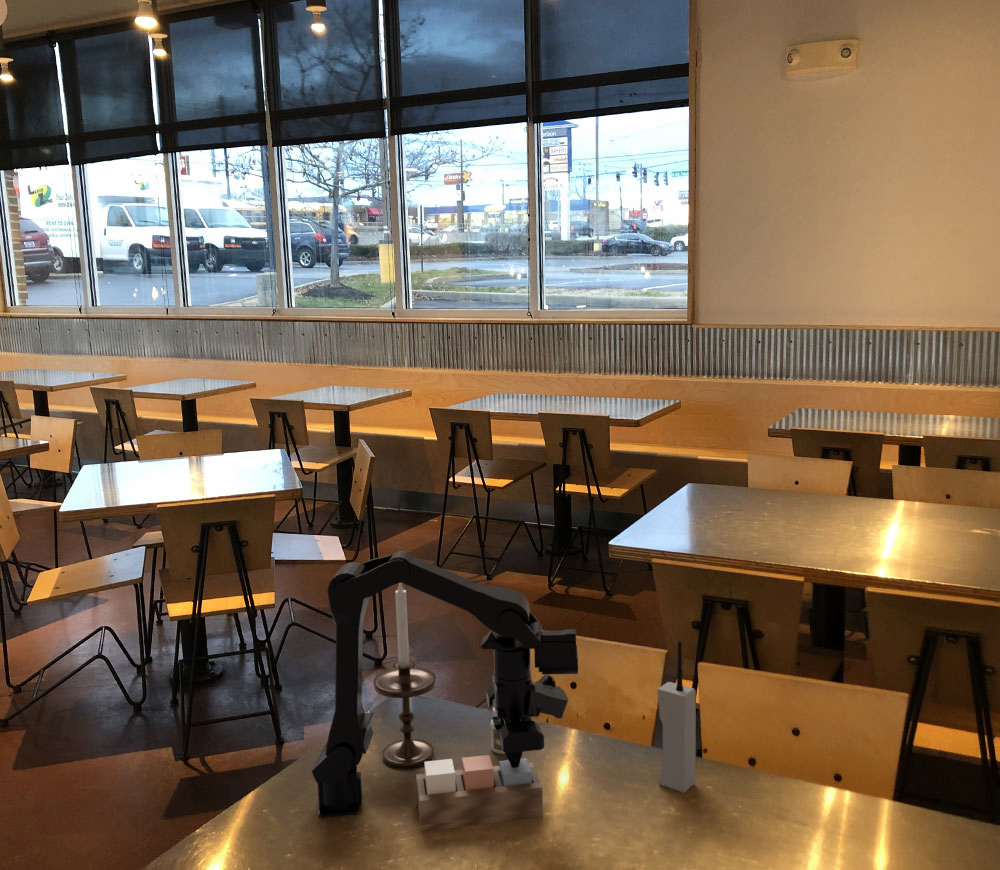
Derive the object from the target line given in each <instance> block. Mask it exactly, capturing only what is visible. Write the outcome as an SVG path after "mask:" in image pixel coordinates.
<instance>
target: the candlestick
mask: <svg viewBox="0 0 1000 870" xmlns="http://www.w3.org/2000/svg"><path fill="white" fill-rule="evenodd" d="M394 594H395V595H394V596H395V611H396V612H395V613H396V614H395V615H396V632H397V633H396V635H397V637H396V638H397V654H398V657H397V659H398V661H396V662H394V663H393V664H392V667H393V668H391V669H387V670H384V671H382V672H380V673H378V674H377V675H376V676H375V677H374V679H373V689H374V691H375V692H376V693H377V694H379V695H381V696H384V697H388V698H392V699H393V698H394V699H401V704H402V705H401V708H402V711H401V712H400V713H399V714H398V719H399V721H400V723H402V726H400V728H399V729H400V730H399V731H400V732H401V733H402V734H403V739H400V740H397V741H394V742H391V743H389V744H387V745H385V746H386V747H384V749H383V750H382V760H383V762H384V764H386V765H387V766H389V767H391V768H394V769H395V768H396V769H404V770H405V769H406V770H407V769H414V768H418V767H423V766H425V765H424V762H426V761H432V760H433V758H434V754H435V752H434V750H435V749H434V746H433V744H432V743H430V742H429V741H426V740H424V739H419V738H412V732H414V730H415V727H414V726H413V725H412V722H413V721H414V719H415V713H414V712H413V711H411V704H410V702H411V701H410V700H411V699H410V698H414V697H419V696H422V695H424V694H426V693H429V692H430V691H433V689H434V688H435V687H436V683H437V682H436V681H437V678H436V677H437V676H436V674H435V673H434V672H433V671H432V670H430V669H427V668H424V667H420V666H416V662H415V661H411V660H410V649H409V629H408V604H407V590H406V589H404V586H403V583H398V587H397V590H395V593H394Z"/></svg>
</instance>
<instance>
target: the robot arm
mask: <svg viewBox="0 0 1000 870" xmlns="http://www.w3.org/2000/svg"><path fill="white" fill-rule="evenodd" d="M399 583H402V585H405V586H407V587H410V588H413V589H415V590H417V591H419V592H422V593H423V594H426V595H429V596H431V597H434V598H436V599H438V600H441V601H443V602H445V603H447V604H448V605H449V604H450V605H452V606H455V607H456V608H459V609H461V610H463V611H466V612H468V613H469V614H471V615H472V616H473V617H474V618H476V620H478V621H479V622H480V623H481V624H482V625H483V626H485V627H486V628H488V629H489V631H488V633H487V634H485V635H484V636H483V637H482V639H481V644H480V648H481V649H482V650H493V674H492V675H491V676H492V679H491V680H492V683H493V684H491V685H490V686H488V688H487V689H486V690H485V691H486V695H485V696H486V697H485V698H486V704H487V707H488V709H489V708H493V707H494V709H495V712H496V715H497V716H496V717H492V719H491V720H493V723H494V726H495V729H496V732H497V735H498V738H499V740H500V743H501V746H502V749H503V752H505V753H506V754H505V755H506V758H507V760H509V762H510V764H511V767H512V768H515V767H519V764H520V760H521V759H522V756H523V752H533V751H540V750H541V751H542V750H543V749H545V736H544V733H543V731H542V728H541V726H540V725H539V723H537V722H535V721H534V720H532V718H533V717H537V716H538V714H537V713H541V714H545V715H548V716H552V717H554V718H555V719H563V718H564V717H563V716H564V714H565V710H566V708H567V706H568V702H569V697H568V695H567V694H566V692H565V691H564V689H562V688H561V686H559V685H557V686H556V680H555V678H554V677H553V676H552V675H578V674H579V655H578V644H577V632H576V629H575V628H571V629H570V628H568V629H563V630H543V627H542V625H543V624H542V623H541V622H540V621H539V620H538V619H537V618H536V616H535V615H534V614H533V613H532V611H531V609H530V603H529V601H528V598H527V597H526V596H525V595H524V593H522V592H521V591H518V590H515V589H510V588H506V587H502V586H497V585H484V584H480V583H476V582H474V581H473V580H469V579H467V578H465V577H462V576H461V575H459V574H456V573H453V572H452V571H449V570H447V569H444V568H443V567H440V566H437V565H435V564H433V563H431V562H428V561H426V560H424V559H421V558H419V557H416V556H414V555H413V554H411V553H410V552H408V551H405V550H400V551H399V550H398V551H396V552H393V553H392V554H390V555H384V556H380V557H376V558H373V559H372V558H371V559H370V560H367V561H365V562H357V561H352V562H350V561H349V562H347V563H345V564H343V565H342V566H341V567H340V568H339V569H338V571H337V572H336V573H335V574H334V576H333V578H332V579H331V580H330V582H329V583H328V585H327V590H326V591H327V596H328V597H327V598H328V604H329V610H330V614H331V616H332V619H333V622H334V624H335V629H336V630H335V632H336V633H335V682H334V683H335V695H334V698H335V700H334V713H333V717H332V722H331V725H330V728H329V732H328V737H327V741H326V743H325V744H324V746H323V748H322V750H321V752H320V754H319V756H318V758H317V760H316V762H315V765H314V767H313V769H312V771H311V774H312V776H313V779H314V781H315V783H316V784H317V785H316V786H317V800H318V806H317V807H318V808H317V817H319V818H325V817H334V816H343V815H352V814H358V813H360V804H362V802H363V790H362V789H363V788H362V784H363V783H362V772H361V771H358V768H357V767H358V765H359V764H360V763H361V761H362V758H363V755H366V754H367V751H368V749H369V747H370V744H371V741H372V738H373V736H374V733H375V732H374V731H373V726H372V722H373V717H374V712H365V708H364V707H363V702H362V700H363V698H362V697H363V695H362V694H363V656H364V655H363V647H364V646H363V645H364V641H363V640H364V619H365V617H366V612H367V608H368V605H369V600H370V597H373V596H375V595H377V594H379V593H381V592H383V591H385V590H386V589H388V588H391V587H392V586H394V585H398V584H399ZM532 649H533V650H534V668H535V669H536V668H537V669H538V673H541V674H542V675H543V676H541V677H540V679H538V680H536V682H534V681H533V680H532V672H531V669H532V668H531V650H532Z"/></svg>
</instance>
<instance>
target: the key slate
mask: <svg viewBox="0 0 1000 870" xmlns="http://www.w3.org/2000/svg"><path fill="white" fill-rule="evenodd" d="M528 763H529V761H528V758H527V757H525V758H524V757H521V760H520V764H519V767H515V768H512V767H511V764H510V762H509V760H508V759H506V760H505V759H504V760H499V766H500V780H501V783H502V787H504V786H513V785H522V784H531V783H532V772H531V769H530V766H529V764H528Z"/></svg>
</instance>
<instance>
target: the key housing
mask: <svg viewBox="0 0 1000 870" xmlns="http://www.w3.org/2000/svg"><path fill="white" fill-rule="evenodd" d="M528 764H529V766H530V769H531V772H532V783H531V784H522V785H513V786H504V787H502V783H501V780H500V765H492V766H493V772H494V788H485V789H476V790H467V791H465V788H464V784H463V772H462V769H457V770H455V769H454V770H455V786H456V792H449V793H440V794H431V795H427V793H426V786H425V773H417V774H415V775H416V776H415V777H416V778H415V781H416V782H415V783H416V798H417V803H416V804H417V810H418V818H419V825H420V827H419V828H420V831H421V832H425V831H435V830H443V829H453V828H460V827H461V828H462V827H469V826H478V825H487V824H497V823H504V822H505V823H506V822H514V821H522V820H530V819H539V818H543V817H544V813H543V811H544V809H543V807H544V806H543V802H544V801H543V786H542V784H541V781H540V778H539V776H538V773H537V770H536V767H535V766H534V765H535V764H534V762H531V761H528Z"/></svg>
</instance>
